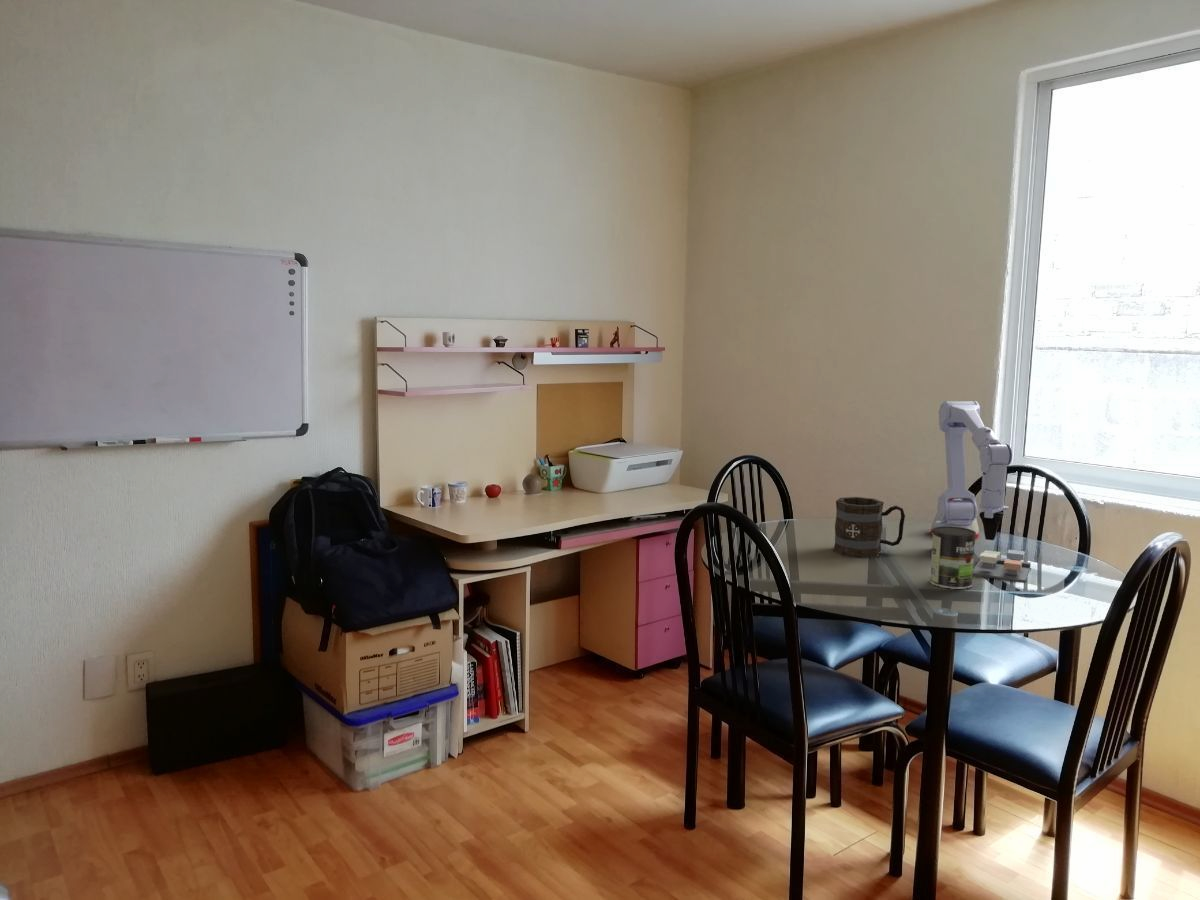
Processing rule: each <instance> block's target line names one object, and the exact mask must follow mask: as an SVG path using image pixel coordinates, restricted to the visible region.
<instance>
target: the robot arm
mask: <svg viewBox="0 0 1200 900" xmlns="http://www.w3.org/2000/svg"><path fill="white" fill-rule="evenodd" d="M938 422H939V430H940V431H942V432H944V442H945V445H944V446H945V460H946V479H947V480H946V481H947V488H946V490H944V491H943V492H942V493H941V494H940V495H939V496H938V498H937V500H938V501H937V508H936V510H937V511H936V513H937V514H938V517H939V519H940V520H941V521H936V524H935V527H941V526H952V527H961V528H967V529H970V524H972V521H974V520H975V519H976V520H977V517H978V513H979V518H980V520H981V522H982V525H983V526H982V527H983V533H984V538H985V540H988V541H995V539H996V536H997V533H998V529H999V524H1000V522H1001V520H1002V518H1003V516H1004V515H1005V513H1004V512H1002V511H1009V509H1010V507H1009V506H1007V505H1005V498H1006V484H1007V470H1008V468H1007V467H1008V466H1010V464H1011V463H1012V460H1013V450H1012V448H1011V446H1010V444H1009V443H1005V442H1001V440H1000V439H999V438H998V437H997V435H996V434H995V432H994V431H993V429H992V428H991V427H987V426H985V425H984V422H983V420H982V419H981V406H980V404H979V402H978V401H976V400H972V401H971V400H970V401H969V400H968V401H967V400H966V401H964V400H963V401H962V400H959V401H958V400H957V401H955V400H954V401H953V400H951V401H948V400H943V402H942V403H941V404H940V406H939V409H938ZM968 431H969V432H970V433H971V434H972V435H971V440H972V443H973V444H974V445H975V447H976V448H977V450H978V452H979V461H980V471H981V472H982V476H981V492H980V493H981V494H980V504H979V507H978V503H977V500H976V497H975V496H976V495H975V494H974V493H973V492H971V491H970V490H968V489H967V483H966V478H967V477H966V466H965V465H966V464H965V463H966V462H965V460H966V459H965V447H964V445H965V444H964V434H965V433H966V432H968ZM948 499H964V500H948ZM979 508H980V509H981V510H982V511H980V512H979V510H978V509H979Z"/></svg>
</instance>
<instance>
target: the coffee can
mask: <svg viewBox="0 0 1200 900" xmlns="http://www.w3.org/2000/svg"><path fill="white" fill-rule="evenodd" d="M975 536H976V532H975V531H973V530H970V529H967V528H961V527H952V526H941V527H935V528H933V535H932V543H931V546H932V547H931V560H930V561H931V564H930V577H929V578H930V580H929V583H930V582H931V583H932V584H935V585H937V586H940V587H939V588H941V587H945V588H952V589H951V590H953V589H963V590H968V589H967V588H969V589H971V588H972V587H973V576H974V575H973V570H974V560H975V557H974V555H975V544H976V539H975ZM931 583H930V584H931ZM932 584H931V585H932ZM937 586H936V587H937ZM970 587H971V588H970ZM945 588H944V589H945Z"/></svg>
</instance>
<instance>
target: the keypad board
mask: <svg viewBox="0 0 1200 900" xmlns="http://www.w3.org/2000/svg"><path fill="white" fill-rule="evenodd" d="M1006 559H1007V558H1005V559H1003V558H1000V559H999V561H997V562H996V565H995V566H993V568H985V567H983V562H979V560H980V555H979V557H978V561H977V563H976V565H975V566H974V567H973V576H975V577H982V578H983V577H984V578H991V579H997V580H998V579H999V580H1005V581H1012V582H1013V581H1014V582H1021V583H1026V582H1027V581H1026V580H1027V578H1028V575H1029V572H1030V570H1031V561H1030V562H1029V561H1022V568H1021V570H1020V571H1019V570H1018V574H1017V575H1010V574H1007V569H1004V562H1005V560H1006Z"/></svg>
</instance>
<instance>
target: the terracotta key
mask: <svg viewBox="0 0 1200 900" xmlns="http://www.w3.org/2000/svg"><path fill="white" fill-rule="evenodd" d="M1005 559H1006V560H1005V562H1004V569H1007V574H1010V575H1017V574H1018V570H1019V571H1020V570H1021V568H1022V562H1023V561H1022V560H1021V561H1017V560H1010V559H1007V558H1005Z"/></svg>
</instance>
